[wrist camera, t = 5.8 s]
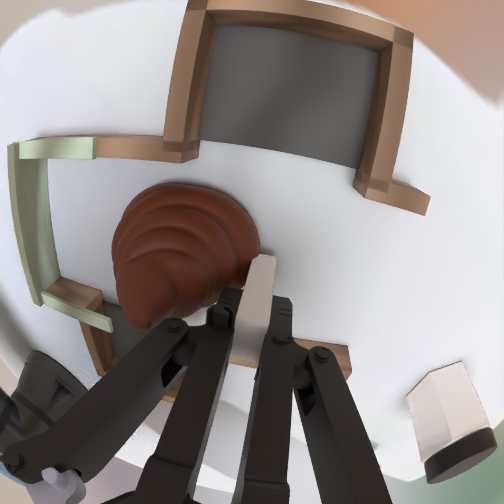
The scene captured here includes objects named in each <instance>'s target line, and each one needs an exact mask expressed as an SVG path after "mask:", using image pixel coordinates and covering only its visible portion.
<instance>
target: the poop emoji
mask: <svg viewBox="0 0 504 504" xmlns="http://www.w3.org/2000/svg"><path fill="white" fill-rule="evenodd" d="M259 254H260V241H259V236H258V232H257V230H256V227H255V225H254V223H253V221H252V219H251V218H250V216H249V215H248V213H247V212H246V211H245V210H244V209H243V208H242V207H241V206H240V205H239V204H238V203H237V202H235V201H234V200H233V199H231V198H230V197H228V196H226V195H224V194H222V193H220V192H218V191H215V190H212V189H209V188H205V187H199V186H188V185H184V184H179V183H164V184H159V185H155V186H152V187H150V188H148V189H146V190H144V191H143V192H141V193H140V194H138V195H137V196H136V197H135V198H134V199H133V200H132V201H131V202H130V204H129V205H128V206H127V208H126V210H125V212H124V214H123V216H122V219H121V221H120V223H119V224H118V226H117V228H116V231H115V233H114V236H113V241H112V260H113V268H114V275H115V279H116V290H117V296H118V299H119V302H120V305H121V308H122V310H123V312H124V314H125V316H126V318H127V319H128V321H129V322H130V323H131V324H132V326H134V327H135V328H136V329H138V330H140V331H148V330H150V329H152V328H153V327H155V326H157V325H159V324H160V323H161V322H162V321H163V320H165V319H166V318H170V317H177V318H181V319H183V320H184V321H186V323H187V324H188V326H200V325H203V324H205V323H206V312H207V309H208V308H209V307H210V305H212V304H214V303H215V302H217V301H218V299H219V297H220V294H221V292H222V290H224V289H225V288H226V287H232V288H236V289H241V288H242V287H243V286H244V285H245V284H246V280H247V277H248V273H249V270H250V266H251V263H252V259H254V258H256V257H257V256H258V255H259Z"/></svg>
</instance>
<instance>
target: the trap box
mask: <svg viewBox="0 0 504 504" xmlns="http://www.w3.org/2000/svg"><path fill="white" fill-rule="evenodd" d="M413 36H414V34H413V33H412V32H409V31H407V30H405V29H402V28H400V27H398V26H395V25H393V24H390V23H387V22H385V21H382V20H379V19H376V18H373V17H370V16H367V15H364V14H361V13H358V12H354V11H351V10H347V9H343V8H339V7H335V6H331V5H327V4H322V3H317V2H312V1H307V0H188V3H187V7H186V11H185V15H184V19H183V23H182V27H181V31H180V36H179V40H178V45H177V50H176V55H175V60H174V65H173V71H172V76H171V82H170V89H169V95H168V102H167V109H166V117H165V126H164V135H163V136H146V135H73V136H56V137H43V138H36V139H32V140H27V141H20V142H14V143H13V144H11V145H7V151H8V178H9V191H10V200H11V209H12V216H13V222H14V228H15V234H16V239H17V244H18V249H19V253H20V257H21V261H22V265H23V269H24V273H25V277H26V280H27V284H28V287H29V290H30V293H31V296H32V300H33V302H34V304H36V305H38V306H40V307H41V306H42V305H43V304H45V305H47V306H49V307H51V308H53V309H55V310H57V311H60V312H62V313H64V314H66V315H68V316H71V317H73V318H75V319H78V320H79V322H80V325H81V329H82V332H83V335H84V338H85V341H86V344H87V347H88V350H89V352H90V355H91V358H92V360H93V363H94V366H95V368H96V371H97V373H98V375H99V376H101V377H103V376H104V375H105V374H106V373H107V372H109V371H110V370H111V369H112V368H113V367H114V366H115V365H116V364H117V363H118V362H119V361H120V360H121V359H122V358H123V357H124V356H125V355H127V354H128V353H129V352H130V351H131V350H132V349H133V348H134V347H135V346H136V345H137V344H138V343H139V342H140V341H141V340H142V339H144V338H145V337H146V336H147V335H148V334H149V333H150V332H151V331H152V330H153V329H154V328H155V327H156V326H155V327H153V328H152V329H150V330H148V331H140V330H138V329H136V328H135V327H134V326H132V324H131V323H130V322H129V321H128V319H127V318H126V316H125V314H124V312H123V310H122V308H121V307H120V306H116V305H113V304H110V303H108V302H105V301H103V298H102V292H101V291H100V290H97V289H94V288H91V287H88V286H85V285H82V284H79V283H77V282H74V281H71V280H68V279H66V278H63V277H61V276H60V271H59V267H58V262H57V256H56V251H55V245H54V239H53V232H52V225H51V217H50V208H49V196H48V181H47V158H57V159H96V157H109V158H125V159H139V160H151V161H161V162H171V163H180V164H181V163H184V162H186V161H189V160H192V159H195V158H198V153H199V145H200V140H207V141H215V142H223V143H231V144H238V145H245V146H251V147H258V148H264V149H269V150H275V151H280V152H286V153H291V154H296V155H300V156H305V157H310V158H314V159H319V160H323V161H327V162H331V163H335V164H339V165H343V166H347V167H351V168H355V169H357V171H356V175H355V179H354V183H353V187H354V188H355V189H356V190H357V191H358V192H359V193H360V194H361V195H362V196H363V197H364V198H365V199H369V200H373V201H376V202H380V203H384V204H387V205H391V206H394V207H397V208H401V209H404V210H407V211H411V212H414V213H417V214H420V215H423V216H425V214H426V210H427V207H428V204H429V201H430V197H431V196H429V195H427V194H425V193H424V192H422V191H420V190H418V189H417V188H415V187H413V186H411V185H408V184H405V183H402V182H399V181H396V180H393V179H391V177H392V173H393V169H394V165H395V161H396V157H397V152H398V148H399V143H400V138H401V133H402V128H403V122H404V117H405V111H406V104H407V98H408V91H409V83H410V74H411V65H412V53H413ZM294 341H295V342H296V343H297V344H298V345H300V346H302V347H304V348H306V349H309V350H310V349H311V348H312V347H315V346H323V347H326V348H328V349H330V350H331V351H332V352H333V353H334V355H335V357H336V359H337V361H338V364H339V366H340V368H341V371H342V373H343V375H344V378H345V380H346V381H347V379H348V377H349V376H350V374H351V373H352V368H351V362H350V356H349V351H348V346H344V345H336V344H328V343H321V342H314V341H308V340H301V339H295V338H294ZM228 363H232V364H236V365H241V366H246V367H251V368H256V369H257V368H258V364H259V363H256V362H251V361H246V360H241V359H236V358H232V357H229V362H228ZM187 368H188V366H187ZM187 368H186V370H185V371H184V372H183V373H182V375H181V376H180V377H179V378H178V379H177V381H176V382H175V383H174V384H173V386H172V387H171V388H170V389H169V391H168V392H167V393H166V394H165V395H164V397H163V398H162V399H161V400H164V401H167V402H171V403H174V401H175V398H176V396H177V393H178V391H179V388H180V386H181V383H182V381H183V378H184V376H185V373H186V371H187Z"/></svg>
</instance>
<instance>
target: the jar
mask: <svg viewBox="0 0 504 504" xmlns="http://www.w3.org/2000/svg"><path fill="white" fill-rule="evenodd" d="M406 399H407V402H408V406H409V410H410V414H411V418H412V422H413V426H414V430H415V434H416V439H417V443H418V448H419V453H420V458H421V462H422V463H424V467H425V472H426V478H427V483H428V484H434V483H438V482H442V481H445V480H447V479H450V478H452V477H454V476H457V475H459V474H461V473H463V472H465V471H467V470H469V469H470V468H472V467H474V466H475V465H477V464H478V463H480V462H481V461H483V460H484V459H486V458H487V457H488V456H490V455H491V454H492V453H493V452H494V451H495V450H496V448H497V443H496V440H495V437H494V434H493V431H492V429H491V428H490V424H489V421H488V418H487V416H486V413H485V411H484V408H483V406H482V403H481V401H480V398H479V396H478V394H477V391H476V389H475V387H474V385H473V383H472V380H471V378H470V376H469V374H468V372H467V370H466V368H465V366H464V364H463V362H462V361H461V362H458V363H455V364H452V365H450V366H447V367H444V368H441V369H438V370H435V371H432V372H429V373H428V374H427V375H426V376H425V377H424V379H423V380H422V381H421V382H420V383H419V384H418V385H417V386H416V387H415V388H414V389H413V390H412V391H411V392H410V393H409V394H408V395H407V397H406Z"/></svg>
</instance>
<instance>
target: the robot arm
mask: <svg viewBox="0 0 504 504" xmlns="http://www.w3.org/2000/svg"><path fill="white" fill-rule="evenodd" d="M276 262H277V257H275V256H270V255H265V254H259V255H258V256H257V257H256V258H254V259H252V263H251V266H250V270H249V273H248V277H247V280H246V284H245V287H244V290H241V289H236V288H232V287H226V288H225V289H224V290H222V292H221V294H220V297H219V299H218V302H217V304H215V305H212V306H210V307H209V308H208V309H207V312H206V323H205V324H203V325H200V326H188V324H187V323H186V321H184V320H183V319H181V318H177V317H170V318H166V319H165V320H163V321H162V322H161V323H160V324H159V325H157V326H156V327H155V328H154V329H153V330H152V331H151V332H150V333H149V334H148V335H147V336H146V337H145V338H144V339H142V340H141V341H140V342H139V343H138V344H137V345H136V346H135V347H134V348H133V349H132V350H131V351H130V352H129V353H128V354H127V355H125V356H124V357H123V358H122V359H121V360H120V361H119V362H118V363H117V364H116V365H115V366H114V367H113V368H112V369H111V370H110V371H109V372H107V373H106V374H105V375H104V376H103V377H102V378H101V379H100V380H99V381H98V382H97V383H96V384H95V385H94V386H93V387H92V388H91V389H90V390H89V391H87V390H86V389H85V388H84V387H83V386H82V385H81V383H80V382H79V381H78V380H77V379H76V378H75V377H73V376H72V375H71V374H70V373H69V372H68V371H67V370H66V369H64V368H63V367H62V366H61V365H60V364H58V363H57V362H56V361H54V360H53V359H51V358H50V357H48V356H47V355H45V354H43V353H41V352H38V351H33V352H32V353H31V354H30V355H29V357H28V358H27V359H26V361H25V367H24V369H23V371H22V373H21V376H20V379H19V383H18V386H17V388H16V390H15V391H14V392H13V394H12V395H11V396H10V397H9V396H8V395H7V394H6V393H5V391H4V390H3V389H2V388H1V387H0V472H1V473H2V474H3V475H5V476H6V477H8V478H10V479H11V480H13V481H15V482H16V483H18V484H20V485H23V486H25V487H26V489H27V491H28V493H29V495H30V496H31V498H32V500H33V502H34V504H78V503H79V502H80V501H82V500H83V499H84V497H85V495H86V487H85V485H84V483H86V482H88V481H89V480H91V479H92V478H93V477H95V476H96V475H97V474H98V473H99V472H100V471H101V470H102V469H103V468H104V467H105V466H106V465H107V464H108V462H109V461H110V460H111V459H112V458H113V457H114V455H115V454H116V453H117V452H118V451H119V450H120V448H121V447H122V446H123V445H124V444H125V442H126V441H127V440H128V439H129V438H130V437H131V435H132V434H133V433H134V432H135V431H136V429H137V428H138V427H139V426H140V425H141V423H142V422H143V421H144V420H145V419H146V417H147V416H148V415H149V414H150V412H151V411H152V410H153V409H154V408H155V406H156V405H157V404H158V403H159V402H160V400H161V399H162V398H163V397H164V395H165V394H166V393H167V392H168V391H169V389H170V388H171V387H172V386H173V384H174V383H175V382H176V381H177V379H178V378H179V377H180V376H181V375H182V373H183V372H184V371H185V370H186V368H187V366H188V368H187V371H186V373H185V376H184V378H183V381H182V383H181V386H180V388H179V391H178V393H177V396H176V398H175V401H174V403H173V406H172V409H171V411H170V414H169V416H168V419H167V421H166V424H165V427H164V429H163V432H162V434H161V437H160V439H159V442H158V445H157V447H156V450H155V452H154V454H153V455H151V456H150V457H149V458H148V460H147V462H146V464H145V466H144V469H143V472H142V474H141V477H140V479H139V482H138V485H137V487H136V490H135V491H130V492H127V493H124V494H122V495H120V496H118V497H115V498H113V499H111V500H109V501H106V502H104V503H101V504H201V503H199V502H196V501H194V500H193V496H194V492H195V487H196V482H197V478H198V475H199V471H200V467H201V464H202V460H203V456H204V452H205V449H206V445H207V442H208V437H209V434H210V431H211V427H212V423H213V419H214V416H215V412H216V408H217V404H218V401H219V397H220V393H221V389H222V386H223V382H224V378H225V374H226V371H227V367H228V362H229V357H232V358H236V359H241V360H246V361H251V362H256V363H259V364H258V368H257V371H256V375H255V378H254V380H255V383H254V389H253V395H252V401H251V407H250V412H249V418H248V424H247V429H246V435H245V440H244V446H243V451H242V457H241V461H240V467H239V472H238V477H237V482H236V487H235V491H234V495H233V498H232V502H231V504H289V497H290V487H289V485H288V483H287V470H288V458H289V445H290V430H291V414H292V394H293V391H294V395H295V399H296V402H297V406H298V410H299V414H300V418H301V422H302V426H303V430H304V434H305V438H306V442H307V446H308V450H309V454H310V458H311V462H312V465H313V470H314V474H315V478H316V482H317V485H318V490H319V493H320V498H321V502H322V504H393V503H392V501H391V498H390V495H389V492H388V490H387V486H386V484H385V481H384V478H383V475H382V472H381V470H380V467H379V464H378V461H377V459H376V456H375V453H374V451H373V448H372V445H371V443H370V440H369V438H368V435H367V432H366V430H365V427H364V425H363V422H362V420H361V417H360V415H359V412H358V410H357V407H356V405H355V402H354V400H353V397H352V395H351V392H350V390H349V388H348V385H347V383H346V380H345V378H344V375H343V373H342V371H341V368H340V366H339V364H338V361H337V359H336V357H335V355H334V353H333V352H332V351H331V350H330V349H328V348H326V347H323V346H315V347H312V348H311V349H310V350H309V349H306V348H304V347H302V346H300V345H298V344H297V343H296V342H295V341H294V338H293V337H292V303H291V301H290V300H289V298H284V297H279V296H274V295H273V288H274V279H275V271H276Z"/></svg>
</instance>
